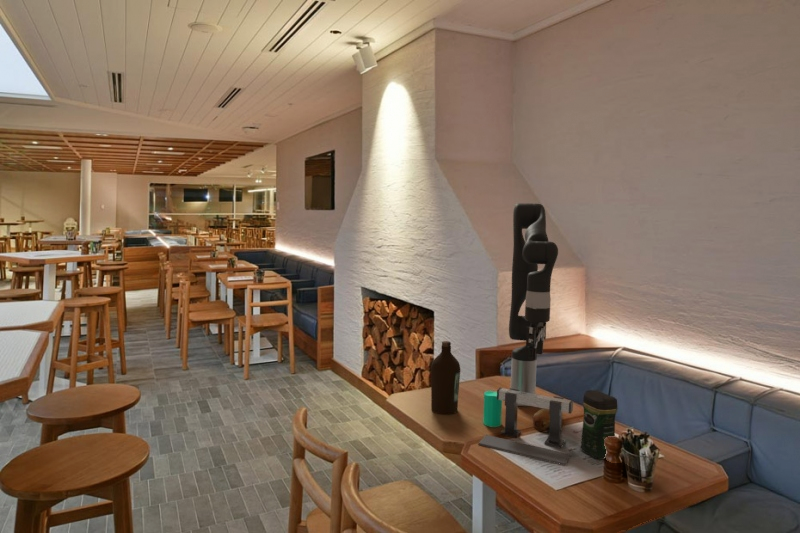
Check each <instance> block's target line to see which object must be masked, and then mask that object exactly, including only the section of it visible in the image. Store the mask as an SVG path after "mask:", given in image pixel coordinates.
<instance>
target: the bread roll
mask: <svg viewBox="0 0 800 533" xmlns="http://www.w3.org/2000/svg"><path fill="white" fill-rule="evenodd" d="M532 418H533V419H532V420H533V422H532V423H533V428H534V429H536V430H538V431H540V432H543V433H549V425H550V414H549V409H545V408H539V410H538V411H537V412H535V413H534V414H533V417H532ZM563 428H564V420H563V418H562V424H561V430H563Z"/></svg>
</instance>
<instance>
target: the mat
mask: <svg viewBox="0 0 800 533" xmlns="http://www.w3.org/2000/svg"><path fill="white" fill-rule="evenodd" d="M478 445H479V446H481V447H482V446H483V447H487V448H491V449H495V450H500V451H504V452H507V453H512V454H516V455H521V456H524V457H528V458H532V459H537V460H541V461H544V462H545V461H546V462H549V461H550V463H553V462H555V463H554V464H557V463H558V465H561V464H564V465H563V466H566V465H567V464H568V462H569V459H570V458H569V457H571V453H568V452H563V451H560V450H559V451H558V450H555V449H550V448H546V447H543V446H542V447H541V446H536V445H534V444H533V445H532V444H528V443H524V442H519V441H515V440H510V439H506V438H502V437H497V436H493V435H488V434H486V435H484V436H483V437H482V439H481V440H480V441H479V442H478ZM559 463H560V464H559Z"/></svg>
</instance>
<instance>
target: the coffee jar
mask: <svg viewBox="0 0 800 533" xmlns="http://www.w3.org/2000/svg"><path fill="white" fill-rule="evenodd" d="M582 405H583V406H582V407H583V418H582V419H583V420H582V421H583V422H582V430H581V431H582V432H581V439H580V449H581V450H582V451H583V452H584V453H585V454H587V455H589V456H591V457H593V458H595V459H600V460H601V459H602V460H605V459H604V457H605V454H606V449H605V446H604V439H605V438H606V437H608V436H615V434H616V431H615V429H616V427H615V426H616V415H617V412H618V398H616V397H615V396H611V395H609V394H607V393H605V392H602V391H600V390H598V389H589V390H586V391H585V392H584V394H583V399H582ZM615 437H616V436H615Z"/></svg>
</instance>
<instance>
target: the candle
mask: <svg viewBox="0 0 800 533" xmlns="http://www.w3.org/2000/svg"><path fill="white" fill-rule="evenodd" d="M502 409H503V400H497V391H494V388H493V389H492V390H487V391H484V393H483V416H482V417H483V418H482V422H483V425H485V426H486V427H491V428H497V427H501V425H502V413H503V412H502Z"/></svg>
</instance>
